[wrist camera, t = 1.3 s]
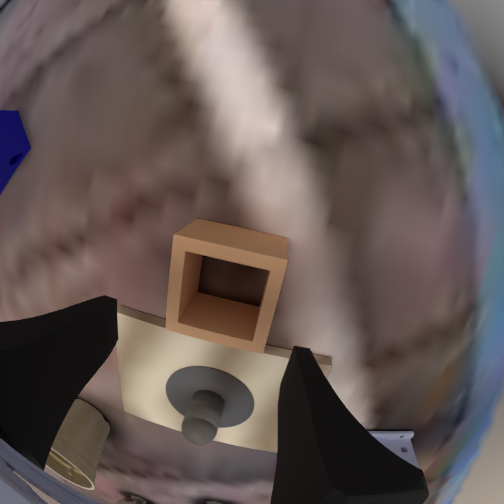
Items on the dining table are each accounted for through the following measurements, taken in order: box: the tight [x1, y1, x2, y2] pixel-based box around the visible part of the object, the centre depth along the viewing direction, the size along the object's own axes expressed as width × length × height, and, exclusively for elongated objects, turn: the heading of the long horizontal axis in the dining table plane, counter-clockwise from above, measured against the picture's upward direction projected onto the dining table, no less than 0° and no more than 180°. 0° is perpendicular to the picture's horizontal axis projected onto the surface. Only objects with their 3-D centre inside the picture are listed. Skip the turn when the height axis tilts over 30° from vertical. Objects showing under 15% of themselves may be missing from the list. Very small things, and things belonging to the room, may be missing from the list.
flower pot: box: [45, 399, 110, 490], centre depth 22 cm, size 9×9×9 cm
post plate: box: [116, 306, 332, 452], centre depth 19 cm, size 16×12×6 cm
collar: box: [165, 218, 288, 354], centre depth 16 cm, size 6×6×4 cm
